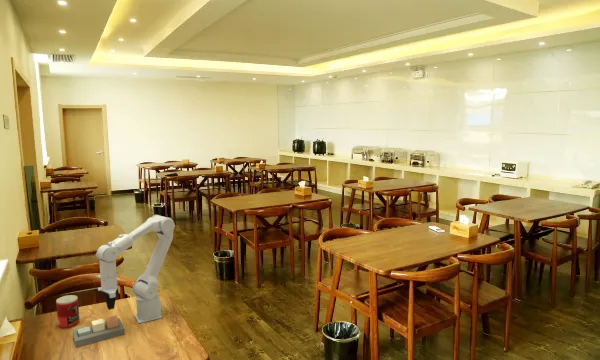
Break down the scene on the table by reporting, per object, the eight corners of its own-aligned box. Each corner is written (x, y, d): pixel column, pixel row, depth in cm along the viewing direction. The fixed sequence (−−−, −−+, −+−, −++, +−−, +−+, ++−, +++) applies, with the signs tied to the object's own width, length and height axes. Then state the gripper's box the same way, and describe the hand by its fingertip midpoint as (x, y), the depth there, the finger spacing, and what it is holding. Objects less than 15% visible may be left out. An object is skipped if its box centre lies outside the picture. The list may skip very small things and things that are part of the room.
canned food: (70, 329, 166) (68, 303, 164) (53, 327, 168) (51, 302, 166) (84, 320, 173) (82, 295, 172) (67, 318, 175) (65, 294, 173)
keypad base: (119, 323, 170) (119, 318, 170) (124, 334, 162) (124, 328, 162) (73, 335, 161) (72, 329, 161) (75, 347, 153) (75, 341, 153)
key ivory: (103, 325, 164) (102, 318, 164) (104, 329, 161) (104, 322, 160) (92, 328, 162) (91, 321, 161) (93, 332, 159) (92, 325, 158)
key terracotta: (116, 322, 167) (116, 315, 166) (118, 326, 163) (118, 319, 163) (106, 324, 165) (105, 317, 164) (107, 329, 161) (107, 321, 161)
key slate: (89, 333, 162) (89, 326, 161) (90, 337, 158) (90, 330, 158) (78, 336, 159) (77, 329, 159) (79, 341, 156) (78, 333, 156)
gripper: (94, 272, 165) (97, 304, 167) (100, 284, 153) (102, 318, 155) (113, 268, 169) (116, 299, 171) (120, 280, 157) (122, 313, 159)
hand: (110, 308), depth 163 cm, fingers closed
